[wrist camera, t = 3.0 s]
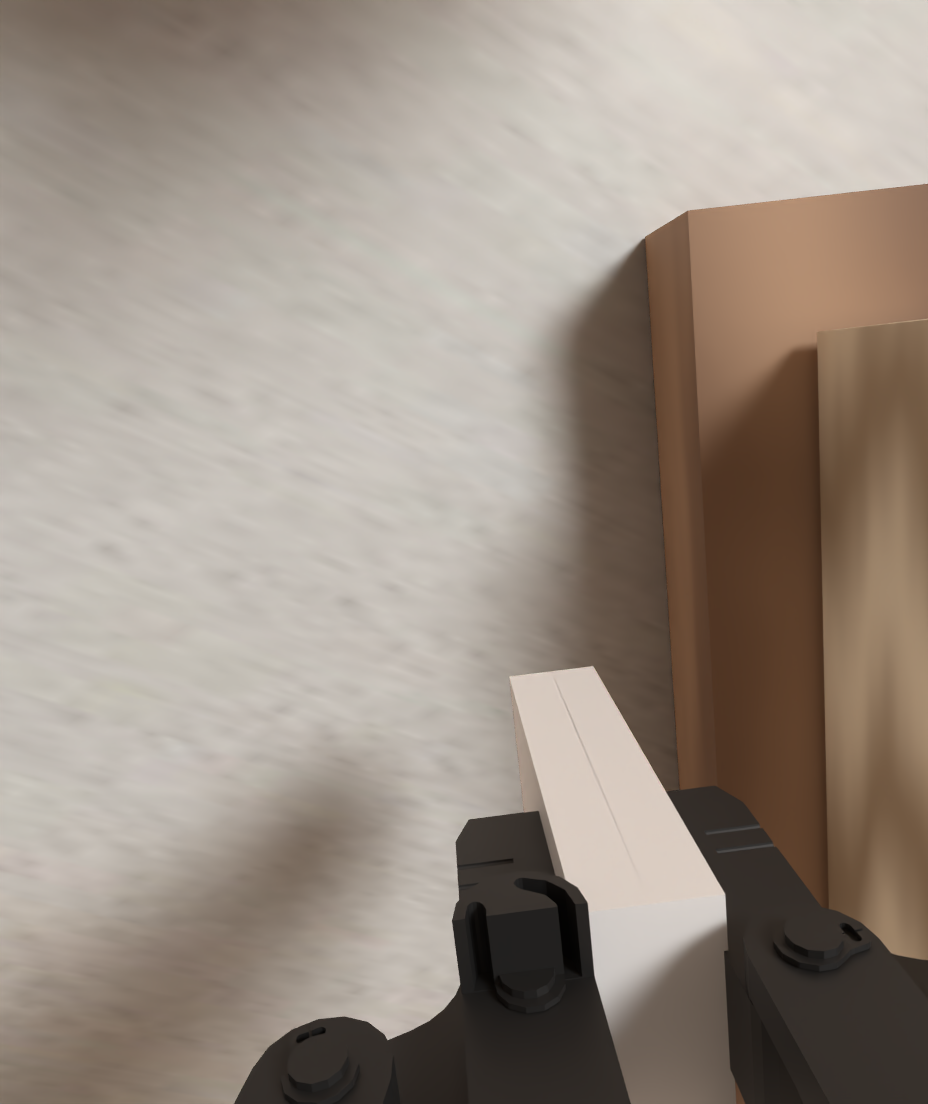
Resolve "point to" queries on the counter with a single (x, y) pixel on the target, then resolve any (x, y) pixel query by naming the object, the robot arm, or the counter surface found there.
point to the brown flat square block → (761, 478)
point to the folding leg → (876, 625)
